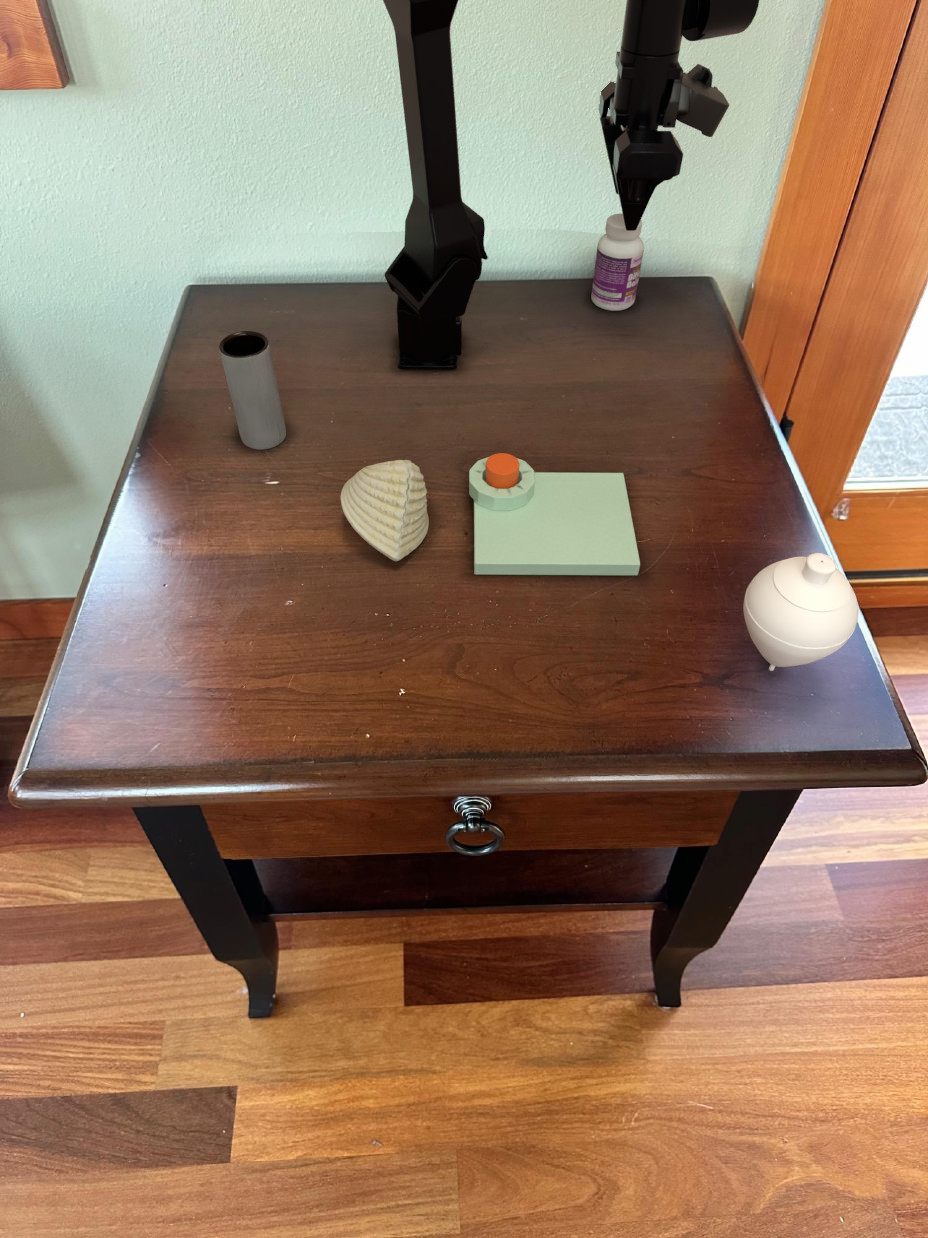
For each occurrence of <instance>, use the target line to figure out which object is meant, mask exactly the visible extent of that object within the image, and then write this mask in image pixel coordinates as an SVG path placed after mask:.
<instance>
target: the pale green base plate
mask: <svg viewBox="0 0 928 1238" xmlns="http://www.w3.org/2000/svg"><path fill="white" fill-rule="evenodd" d="M489 457H490V456H487V457H485V458H482V459H479V460H477V461H475V463H474V464H473V465H472V467H470V469H469V471H468V494H469V496H470V498H471V499H473V574H474V575H479V576H481V575H482V576H483V575H495V576H496V575H500V576H501V575H502V576H506V575H507V576H512V575H513V576H514V575H515V576H521V575H522V576H638V575H639V572H640V568H641V560H640V555H639V554H640V553H639V549H638V545H637V538H636V533H635V527H634V523H633V518H632V517H633V516H632V512H631V511H632V510H631V506H630V501H629V497H628V490H627V486H626V479H625V474H624V472H551V471H550V472H547V471H546V472H543V471H542V472H541V471H539V472H536V471H535V470H534V469H533V468H532V466H531V465H529V463H528V462H526V460H523V459H521V458H519V457H516V458H517V459H518V461H519V479H518V482H517V484H516V485H515V486H514V487H511V488H509V489H497V488H494V487H491V486H490V485H488V484H487V482H486V480H485V472H486V461H487V459H488V458H489Z"/></svg>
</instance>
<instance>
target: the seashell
mask: <svg viewBox="0 0 928 1238" xmlns="http://www.w3.org/2000/svg"><path fill="white" fill-rule="evenodd" d="M424 479H425V476H424V475H423V473H421V469H420V467H419V465H416V464H415V463H414V462H412V460H409V459H404V460H403V459H395V460H388V461H385V462H379V463H374V464H371V465H366V466H365V467H362V468H361V469H359V470H358V472H356V473H355V474H354V475H353V476H352V477H350V478H349V479H348V480H347V481H346V482H345V483H344V485H343V486H342V489H341V491H340V506H341V508H342V512H343V515H344V516H345V518H346V520H347V522H348V523H349V524H350V525H351V527H352V528H353V530H354V531H355V532H356V533H357V534H358V535H359V536H360V537H361V538H362V539H363V540H364V541H365V542H366V543H367V544H368V545H369V546H371V547H372V548H374V549H375V550H376V551H377V552H379V553H380V554H382V555H384V556H385V557H387V558H388V559H390V560H392V561H394V562H398V561H401V560H402V559H404V558H405V557H407V556H408V555H410V553H412V552H413V551H414V550H416V549H417V548H418V547H419V546H420V545H421V544H422V543H423V541H424V539H425V538H426V536H427V534H428V532H429V525H430V519H429V514H428V508H427V507H428V503H427V502H428V499H427V493H428V490H427V488H426V482H425V480H424Z"/></svg>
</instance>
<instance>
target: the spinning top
mask: <svg viewBox="0 0 928 1238" xmlns="http://www.w3.org/2000/svg"><path fill="white" fill-rule="evenodd" d="M742 611H743V618H744V622H745V625H746V626H745V627H746V629H747V631H748V634H749V637H750V639H751V642H753V644H754V646H755V647H756V649H757V650H758V652H759V653H760V655H761V656H762V657H763V658H764V659H765V661H766V662H768V663H769V667H768V671H770V672H773V671H775V668H776V667H778V668H780V667H781V668H787V667H796V666H801V665H807V664H812V663H814V662H817V661H819V660H821V659H824V658H825V657H828V656H830V655H833V654H834V653H835V652H837V651H838V650H840V649H841V648H842V647H843V646H844V645H845V644H846V643H847V642H848V641H849V639H850V638H851V637H852V635H854V632H855V630H856V627H857V625H858V620H859V603H858V599H857V596H856V593H855V591H854V588H853V587H852V585H851V584H850V583H849V580H848V578H847V577H846V576H845V574H844V573H843V572H842V571H841V570H839V569H838V568H837V563H836V561H835V560H834V559H833V557H831V556H830V555H827V554H825V553H821V552H814V553H811V554H809V555H808V556H793V557H789V558H787V559H786V558H785V559H782V560H778V561H776V562H773V563H770V564H769V565H767V566H766V567H764V568H763V569H761V570H760V571H758V573H757V574H756V575H755V576H754V577H753V579H751V581H750V583H749V584H748V586H747V588H746V590H745V594H744V597H743V607H742Z"/></svg>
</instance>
